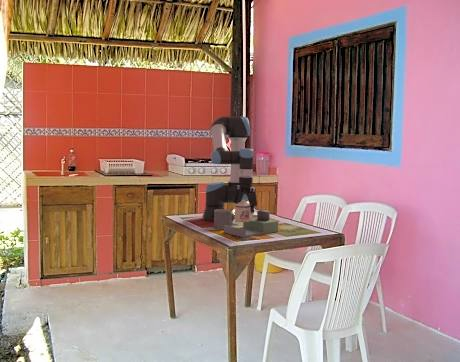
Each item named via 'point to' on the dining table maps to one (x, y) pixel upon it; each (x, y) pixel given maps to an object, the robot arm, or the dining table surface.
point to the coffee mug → (222, 218)
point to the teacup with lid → (242, 212)
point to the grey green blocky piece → (255, 226)
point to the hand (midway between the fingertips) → (244, 217)
